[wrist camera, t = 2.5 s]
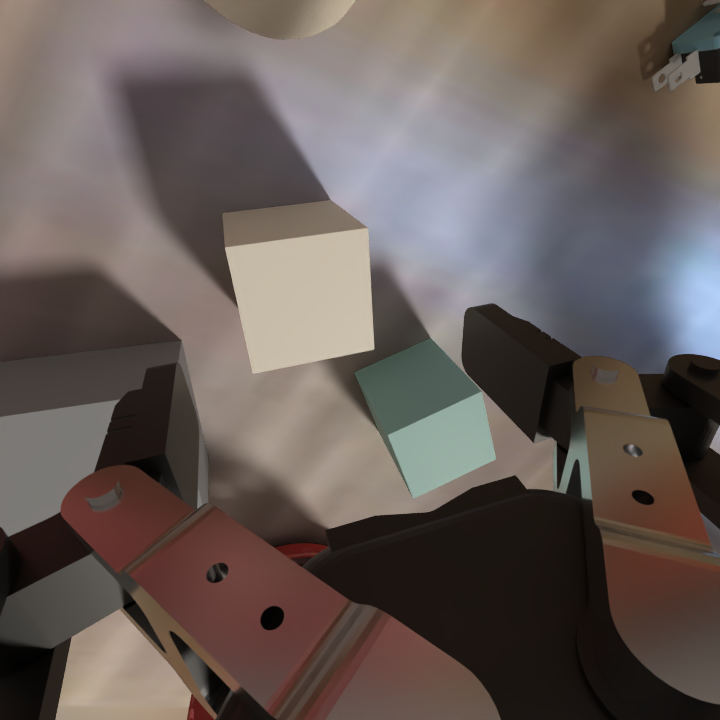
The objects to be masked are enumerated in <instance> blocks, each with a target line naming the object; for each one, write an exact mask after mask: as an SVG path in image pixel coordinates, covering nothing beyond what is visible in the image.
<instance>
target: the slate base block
mask: <svg viewBox="0 0 720 720" xmlns="http://www.w3.org/2000/svg"><path fill="white" fill-rule="evenodd" d="M176 362H179V364H180V365H181V367H182V370H183V373H184V376H185V379H186V383H187V386H188V389H189V392H190V395H191V398H192V401H193V404H194V408H195V411H196V414H197V419H198V424H199V467H198V500H197V509H198V508H199V507H200V506H202V505H203V504H205V503H208V485H209V459H208V455H207V450H206V446H205V441H204V437H203V433H202V428H201V424H200V419H199V415H198V411H197V406H196V402H195V397H194V393H193V388H192V384H191V380H190V375H189V371H188V366H187V362H186V358H185V353H184V349H183V344H182V340H179V341H171V342H162V343H154V344H145V345H137V346H129V347H120V348H112V349H103V350H95V351H87V352H78V353H70V354H61V355H53V356H45V357H36V358H28V359H19V360H11V361H3V362H0V527H1V528H2V529H3V530H4V531H5V533H6V534H7V535H8V537H9V536H11V535H13V534H15V533H18V532H20V531H22V530H24V529H26V528H28V527H31V526H33V525H35V524H37V523H39V522H42V521H44V520H46V519H48V518H50V517H52V516H54V515H56V514H57V513H59V512H61V511H60V509H61V504H62V501H63V499H64V497H65V495H66V494H67V493H68V492H69V490H70V489H71V488H72V487H73V486H74V485H76V484H77V483H78V482H79V481H80V480H82V479H83V478H85V477H86V476H88V475H90V474H92V473H94V471H95V467H96V464H97V461H98V458H99V455H100V452H101V448H102V445H103V442H104V439H105V436H106V434H107V429H108V426H109V423H110V422H111V417H112V414H113V410H114V407H115V405H116V404H117V403H118V402H119V401H120V400H121V398H122V397H123V396H124V395H125V394H126V393H127V392H128V391H132V390H137V389H142V385H143V381H144V377H145V373H146V369H147V368H149V367H154V366H160V365H165V364H170V363H176Z"/></svg>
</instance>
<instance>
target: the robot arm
mask: <svg viewBox="0 0 720 720" xmlns="http://www.w3.org/2000/svg"><path fill="white" fill-rule="evenodd" d="M462 363H463V366H464V369H465V371H466V373H467V374H468V375H469V376H470V377H471V379H472V380H473V381H474V382H475V383H476V384H477V385H478V386H479V387H480V388H481V389H482V390H483V391H484V392H485V393H486V394H487V395H488V396H489V397H490V398H491V399H492V400H493V401H494V402H495V403H496V404H497V405H498V406H499V407H500V409H501V410H502V411H503V412H504V413H505V414H506V415H507V416H508V417H509V418H510V419H511V420H512V421H513V422H514V423H515V424H516V425H517V426H518V427H519V428H520V429H521V430H522V431H523V432H524V433H525V434H526V435H527V436H528V437H529V438H530V440H531V441H532V442H533V443H536V442H540V441H544V440H547V439H551V438H553V439H554V440H555V446H554V450H553V491H549V490H540V489H526V488H525V486H524V485H523V484H522V483H521V482H520V480H519V479H518V478H517V477H516V476H512V477H508V478H505V479H501V480H498V481H494V482H491V483H487V484H484V485H480V486H477V487H473V488H471V489H469V490H468V491H466V492H464V493H463V494H461V495H459V496H458V497H456V498H454V499H453V500H451V501H449V502H448V503H446V504H444V505H442V506H441V507H439V508H437V509H436V510H434V511H431V512H426V513H411V514H395V515H380V516H373V517H370V518H366V519H363V520H359V521H356V522H352V523H349V524H346V525H342V526H339V527H335V528H332V529H328V530H325V531H326V537H327V544H328V548H326V549H324V550H323V551H321V552H319V553H318V554H317V555H315V556H314V557H312V558H311V559H310V560H309V561H307V562H306V563H305V564H304V565H303V566H302V567H301V566H300V565H298V564H297V563H295V562H294V561H293V560H291V559H290V558H288V557H287V556H285V555H284V554H283V553H281V552H280V551H278V550H277V549H275V548H274V547H273V546H271V545H270V544H268V543H267V542H265V541H264V540H263V539H261V538H260V537H258V536H257V535H255V534H254V533H253V532H251V531H250V530H248V529H247V528H245V527H244V526H243V525H241V524H240V523H238V522H237V521H235V520H234V519H233V518H231V517H230V516H228V515H227V514H225V513H224V512H223V511H221V510H220V509H218V508H217V507H215V506H214V505H211V504H208V503H205V504H203V505H202V506H200V507H199V508H198V509H197V500H198V467H199V424H198V419H197V414H196V411H195V408H194V404H193V401H192V398H191V395H190V392H189V389H188V386H187V383H186V379H185V376H184V373H183V370H182V367H181V365H180V364H179V362H176V363H170V364H165V365H160V366H154V367H149V368H147V369H146V373H145V377H144V381H143V385H142V389H137V390H132V391H128V392H127V393H126V394H125V395H124V396H123V397H122V398H121V400H120V401H119V402H118V403H117V404H116V405H115V407H114V410H113V414H112V417H111V422H110V423H109V426H108V429H107V434H106V436H105V439H104V442H103V445H102V448H101V452H100V455H99V458H98V461H97V464H96V467H95V471H94V473H92V474H90V475H88V476H86V477H85V478H83V479H82V480H80V481H79V482H78V483H77V484H76V485H74V486H73V487H72V488H71V489H70V490H69V492H68V493H67V494H66V495H65V497H64V499H63V501H62V504H61V509H60V511H61V512H59V513H57V514H56V515H54V516H52V517H50V518H48V519H46V520H44V521H42V522H39V523H37V524H35V525H33V526H31V527H28V528H26V529H24V530H22V531H20V532H18V533H15V534H13V535H11V536H9V537H8V535H7V534H6V533H5V531H4V530H3V529H2V528H1V527H0V720H55V718H56V713H57V708H58V703H59V698H60V693H61V688H62V683H63V678H64V673H65V667H66V662H67V657H68V652H69V647H70V642H71V637H72V636H74V635H76V634H77V633H79V632H81V631H82V630H84V629H86V628H87V627H89V626H91V625H93V624H94V623H96V622H98V621H99V620H101V619H103V618H104V617H106V616H108V615H110V614H111V613H113V612H115V611H116V610H118V609H120V610H121V611H122V612H123V614H124V615H125V616H126V617H127V618H128V619H129V620H130V621H131V622H132V623H133V625H134V626H135V627H136V628H137V629H138V630H139V631H140V632H141V633H142V634H143V636H144V637H145V638H146V639H147V640H148V641H149V642H150V643H151V644H152V645H153V647H154V648H155V649H156V650H157V651H158V652H159V653H160V654H161V655H162V656H163V658H164V659H165V660H166V661H167V662H168V663H169V664H170V665H171V666H172V668H173V669H174V670H175V671H176V673H177V674H178V675H179V677H180V678H181V679H182V681H183V682H184V684H185V685H186V686H187V688H188V689H189V690H190V692H191V693H192V694H193V695H194V697H195V698H196V699H197V700H198V701H199V703H200V704H201V705H202V706H203V707H204V708H205V710H206V711H207V712H208V713H209V714H210V715H211V716H212V717H213V718H214V720H720V455H719V454H718V453H717V452H715V451H714V450H712V449H711V448H710V447H709V446H710V444H711V442H712V440H713V438H714V436H715V434H716V432H717V430H718V427H719V425H720V360H718V359H714V358H711V357H707V356H702V355H695V354H681V355H676V356H673V357H671V358H670V359H669V361H668V364H667V366H666V369H665V372H664V374H638V373H637V372H636V370H635V369H634V368H632V367H631V366H630V365H628V364H626V363H624V362H622V361H619V360H616V359H613V358H609V357H603V356H587V357H580V356H579V355H578V354H576V353H575V352H573V351H572V350H570V349H569V348H567V347H566V346H564V345H563V344H561V343H560V342H558V341H557V340H555V339H554V338H553V339H551V336H549V335H548V334H546V333H545V332H541V330H540V329H539V328H537V327H536V326H534V325H533V324H531V323H530V322H528V321H525V320H522V319H519V318H516V317H514V316H512V315H510V314H509V313H507V312H506V311H504V310H503V309H502V308H500V307H499V306H497V305H496V304H493V303H492V304H486V305H481V306H475V307H470V308H468V309H467V310H466V312H465V315H464V327H463V341H462Z"/></svg>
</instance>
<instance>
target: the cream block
mask: <svg viewBox="0 0 720 720" xmlns="http://www.w3.org/2000/svg"><path fill="white" fill-rule="evenodd" d="M222 216H223V230H224V243H225V250H226V255H227V259H228V264H229V268H230V273H231V277H232V282H233V286H234V291H235V295H236V300H237V304H238V309H239V313H240V318H241V322H242V326H243V331H244V335H245V340H246V344H247V349H248V353H249V358H250V362H251V367H252V371H253V374H255V373H260V372H265V371H270V370H275V369H280V368H285V367H290V366H295V365H300V364H305V363H310V362H315V361H320V360H325V359H330V358H335V357H340V356H345V355H350V354H355V353H360V352H365V351H370V350H374V332H373V313H372V294H371V275H370V256H369V238H368V228H367V227H366V226H365V225H363V224H362V223H361V222H359V221H358V220H357V219H355V218H354V217H353V216H351V215H350V214H349V213H347V212H346V211H345V210H343V209H342V208H341V207H339V206H338V205H337V204H335V203H334V202H333V201H331V200H327V201H319V202H310V203H302V204H294V205H286V206H277V207H269V208H261V209H252V210H244V211H236V212H228V213H222Z"/></svg>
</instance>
